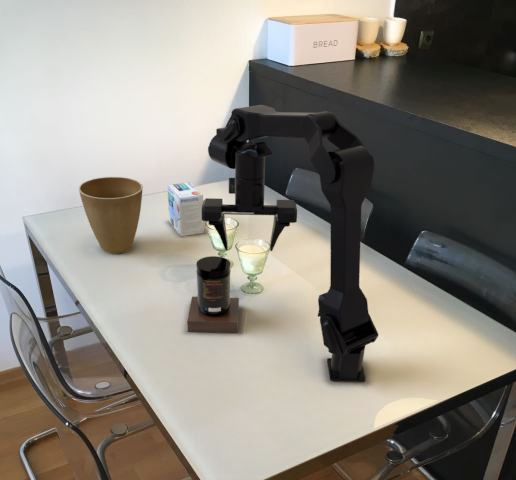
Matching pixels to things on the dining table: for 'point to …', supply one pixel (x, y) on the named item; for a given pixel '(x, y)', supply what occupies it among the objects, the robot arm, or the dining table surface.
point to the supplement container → (213, 285)
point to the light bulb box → (185, 208)
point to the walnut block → (213, 319)
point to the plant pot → (112, 211)
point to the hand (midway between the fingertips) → (248, 249)
